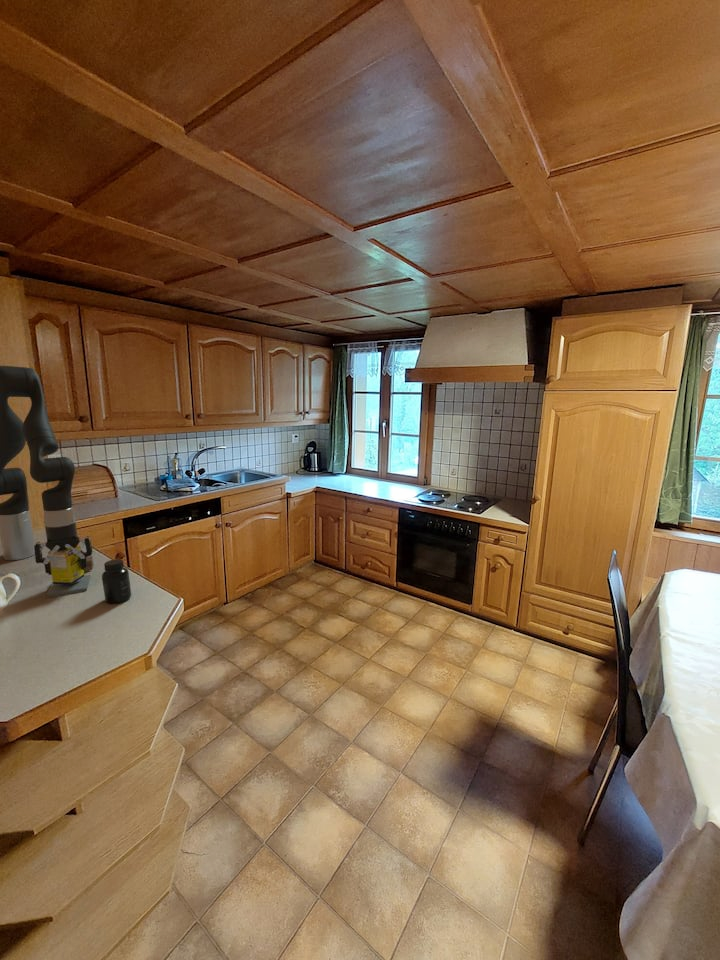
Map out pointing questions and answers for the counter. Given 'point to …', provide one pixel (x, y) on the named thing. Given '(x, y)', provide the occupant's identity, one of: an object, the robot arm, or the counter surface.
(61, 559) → the supplement box
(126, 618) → the counter surface
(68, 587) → the pad
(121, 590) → the supplement bottle
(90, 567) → the walnut block
